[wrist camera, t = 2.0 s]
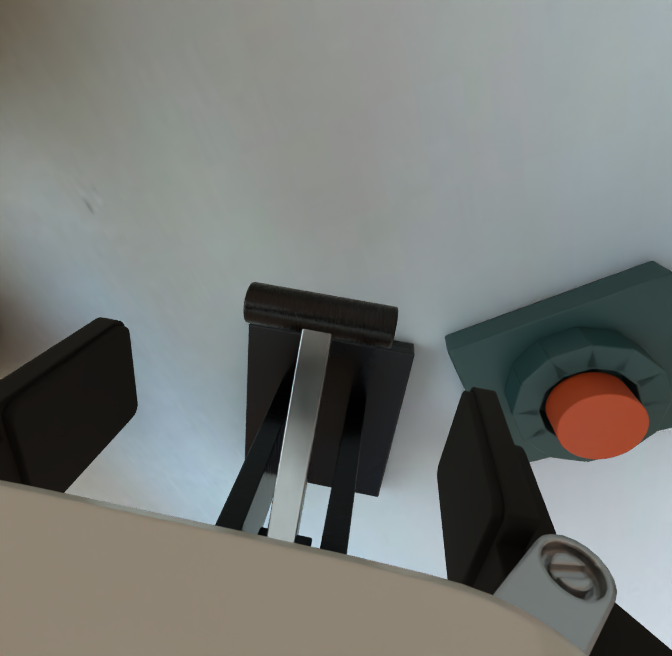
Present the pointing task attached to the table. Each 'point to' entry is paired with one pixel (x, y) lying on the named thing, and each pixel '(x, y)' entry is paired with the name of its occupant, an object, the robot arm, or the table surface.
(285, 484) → the lever
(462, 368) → the button box
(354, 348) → the bracket
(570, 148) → the table surface
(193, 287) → the table surface
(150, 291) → the table surface
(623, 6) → the table surface
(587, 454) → the button
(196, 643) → the robot arm
